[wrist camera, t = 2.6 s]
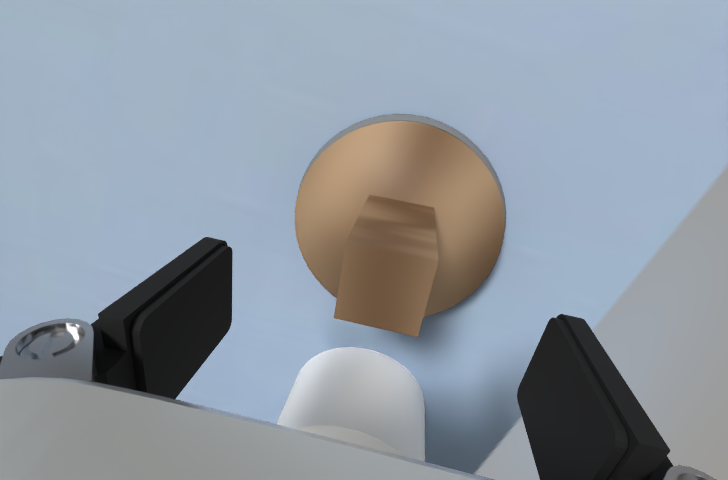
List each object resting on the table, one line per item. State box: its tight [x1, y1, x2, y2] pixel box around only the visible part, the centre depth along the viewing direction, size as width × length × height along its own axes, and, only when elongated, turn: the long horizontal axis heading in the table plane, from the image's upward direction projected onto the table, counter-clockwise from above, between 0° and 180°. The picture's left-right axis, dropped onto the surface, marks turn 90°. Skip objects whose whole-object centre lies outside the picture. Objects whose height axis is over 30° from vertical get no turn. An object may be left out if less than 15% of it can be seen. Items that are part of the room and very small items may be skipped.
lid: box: [295, 120, 505, 337], centre depth 16 cm, size 10×10×7 cm
